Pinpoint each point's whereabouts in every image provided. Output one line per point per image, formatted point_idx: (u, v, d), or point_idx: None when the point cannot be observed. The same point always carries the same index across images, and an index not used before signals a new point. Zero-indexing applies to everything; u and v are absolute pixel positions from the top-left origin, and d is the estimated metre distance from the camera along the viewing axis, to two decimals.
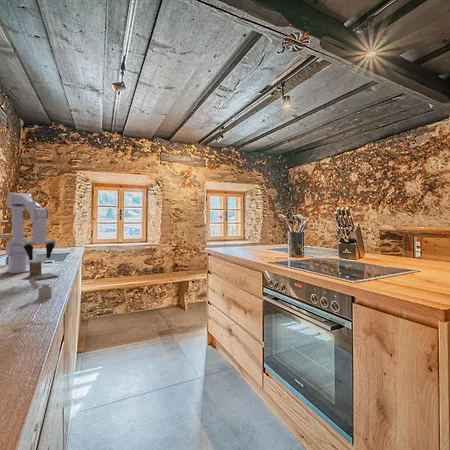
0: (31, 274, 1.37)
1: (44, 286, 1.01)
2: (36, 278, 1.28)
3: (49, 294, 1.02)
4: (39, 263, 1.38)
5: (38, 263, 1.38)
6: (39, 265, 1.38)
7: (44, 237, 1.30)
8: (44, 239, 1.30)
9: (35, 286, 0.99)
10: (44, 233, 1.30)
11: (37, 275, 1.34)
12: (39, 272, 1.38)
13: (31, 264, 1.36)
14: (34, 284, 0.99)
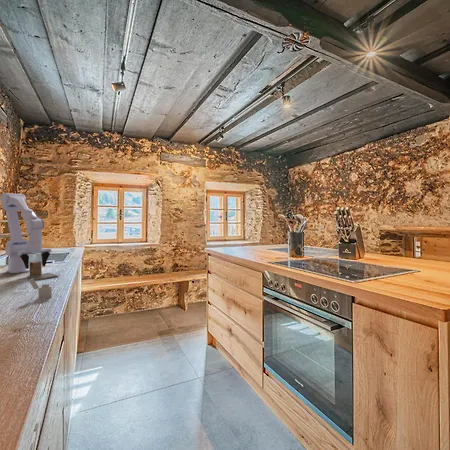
0: (31, 274, 1.37)
1: (44, 286, 1.01)
2: (36, 278, 1.28)
3: (49, 294, 1.02)
4: (39, 263, 1.38)
5: (38, 263, 1.38)
6: (39, 265, 1.38)
7: (39, 246, 1.37)
8: (39, 248, 1.38)
9: (35, 286, 0.99)
10: (39, 243, 1.37)
11: (37, 275, 1.34)
12: (39, 272, 1.38)
13: (31, 264, 1.36)
14: (34, 284, 0.99)
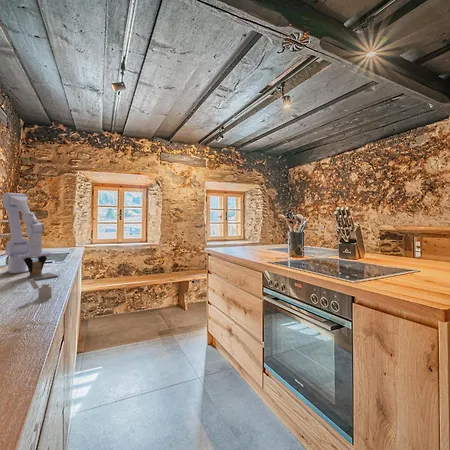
0: (31, 274, 1.37)
1: (44, 286, 1.01)
2: (36, 278, 1.28)
3: (49, 294, 1.02)
4: (39, 263, 1.38)
5: (38, 263, 1.38)
6: (39, 265, 1.38)
7: (39, 251, 1.38)
8: (39, 253, 1.38)
9: (35, 286, 0.99)
10: (39, 247, 1.38)
11: (37, 275, 1.34)
12: (39, 272, 1.38)
13: None
14: (34, 284, 0.99)
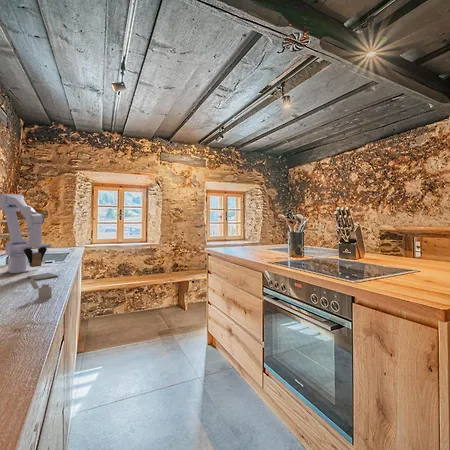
0: (31, 265, 1.36)
1: (44, 286, 1.01)
2: (36, 278, 1.28)
3: (49, 294, 1.02)
4: (39, 254, 1.38)
5: (38, 254, 1.38)
6: (39, 256, 1.38)
7: (39, 241, 1.37)
8: (39, 243, 1.37)
9: (35, 286, 0.99)
10: (39, 238, 1.37)
11: (37, 275, 1.34)
12: (39, 263, 1.38)
13: None
14: (34, 284, 0.99)
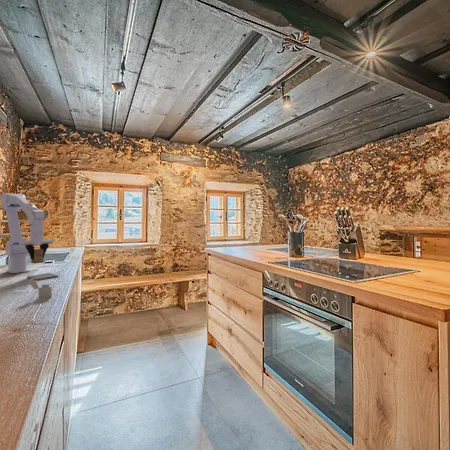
0: (33, 261, 1.35)
1: (44, 286, 1.01)
2: (36, 278, 1.28)
3: (49, 294, 1.02)
4: (41, 250, 1.36)
5: (40, 250, 1.36)
6: (41, 252, 1.37)
7: (41, 238, 1.36)
8: (41, 239, 1.36)
9: (35, 286, 0.99)
10: (41, 234, 1.36)
11: (37, 275, 1.34)
12: (41, 259, 1.37)
13: None
14: (34, 284, 0.99)
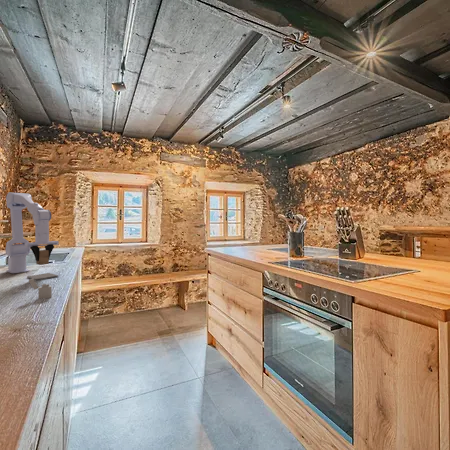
0: (38, 262, 1.32)
1: (44, 286, 1.01)
2: (36, 278, 1.28)
3: (49, 294, 1.02)
4: (46, 251, 1.33)
5: (45, 251, 1.33)
6: (46, 253, 1.33)
7: (47, 238, 1.33)
8: (47, 240, 1.33)
9: (35, 286, 0.99)
10: (47, 235, 1.33)
11: (37, 275, 1.34)
12: (46, 261, 1.33)
13: None
14: (34, 284, 0.99)
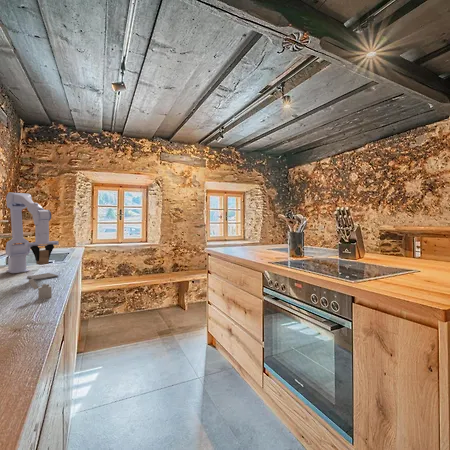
0: (38, 262, 1.32)
1: (44, 286, 1.01)
2: (36, 278, 1.28)
3: (49, 294, 1.02)
4: (46, 251, 1.33)
5: (45, 251, 1.33)
6: (46, 253, 1.33)
7: (47, 238, 1.33)
8: (47, 240, 1.33)
9: (35, 286, 0.99)
10: (47, 235, 1.33)
11: (37, 275, 1.34)
12: (46, 261, 1.33)
13: None
14: (34, 284, 0.99)
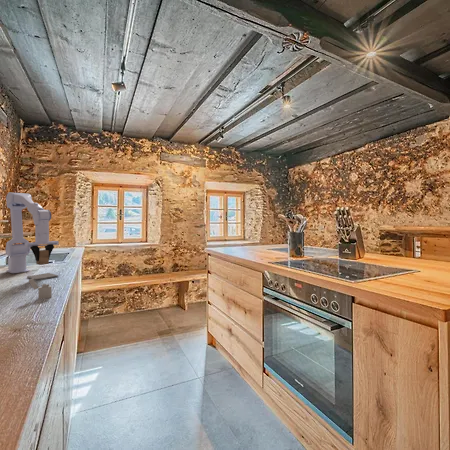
0: (38, 262, 1.32)
1: (44, 286, 1.01)
2: (36, 278, 1.28)
3: (49, 294, 1.02)
4: (46, 251, 1.33)
5: (45, 251, 1.33)
6: (46, 253, 1.33)
7: (47, 238, 1.33)
8: (47, 240, 1.33)
9: (35, 286, 0.99)
10: (47, 235, 1.33)
11: (37, 275, 1.34)
12: (46, 261, 1.33)
13: None
14: (34, 284, 0.99)
